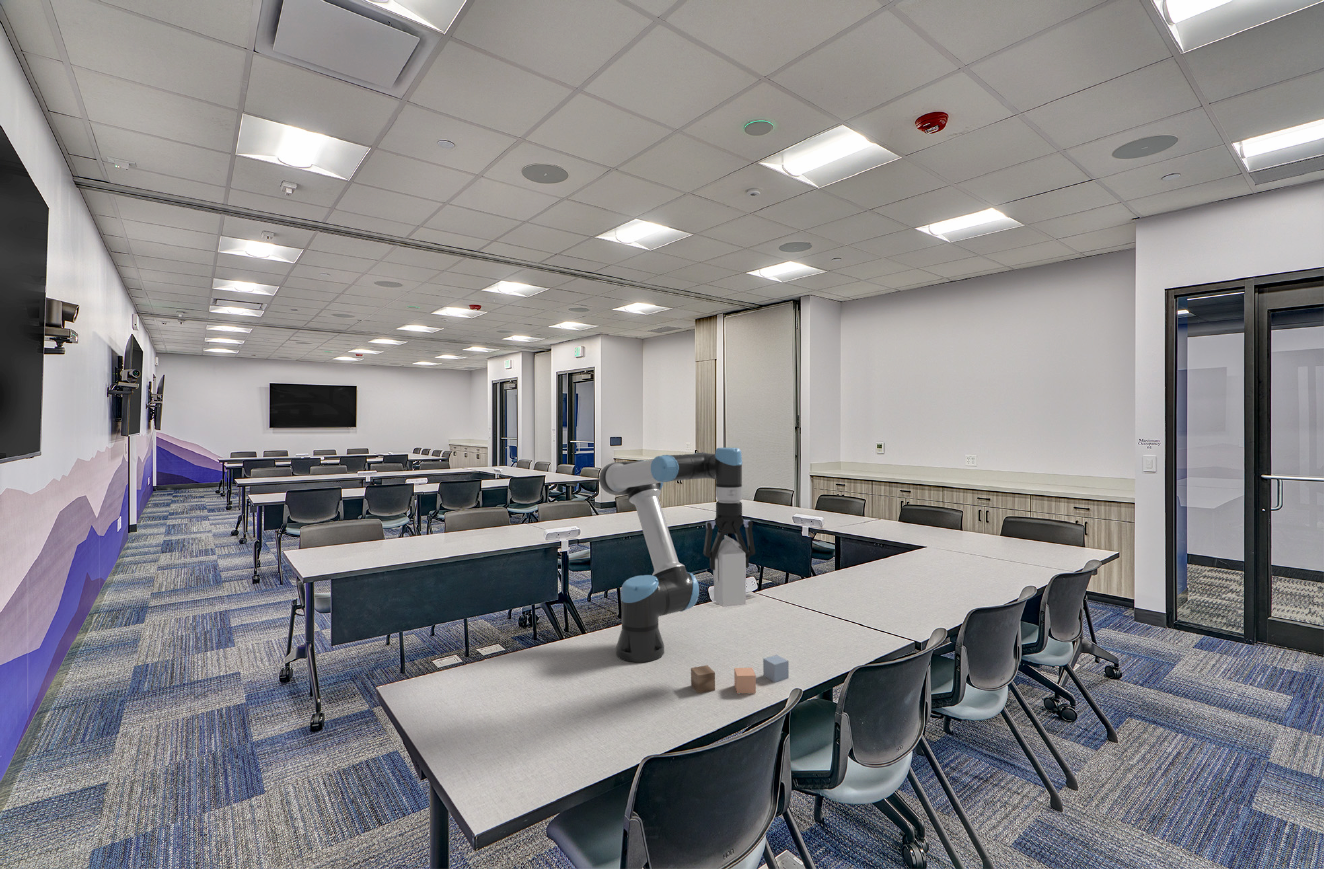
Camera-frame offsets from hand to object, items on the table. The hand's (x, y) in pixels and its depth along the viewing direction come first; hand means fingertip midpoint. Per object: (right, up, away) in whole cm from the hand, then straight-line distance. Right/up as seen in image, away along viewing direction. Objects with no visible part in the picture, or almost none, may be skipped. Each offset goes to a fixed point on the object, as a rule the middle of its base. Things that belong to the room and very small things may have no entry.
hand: (729, 579), depth 167 cm
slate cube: (+13, -27, -3) cm, 30 cm away
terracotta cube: (+3, -27, -10) cm, 29 cm away
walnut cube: (-8, -28, -9) cm, 30 cm away
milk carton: (0, -7, 0) cm, 7 cm away
